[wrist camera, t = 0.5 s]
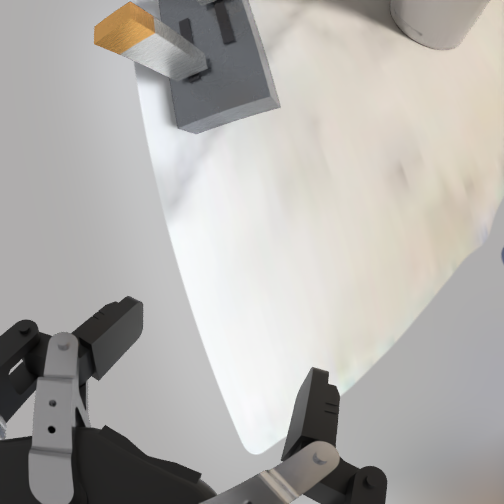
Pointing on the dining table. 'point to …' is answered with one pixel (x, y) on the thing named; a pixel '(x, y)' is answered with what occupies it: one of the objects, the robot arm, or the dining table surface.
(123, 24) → the knob orange
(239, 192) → the dining table surface
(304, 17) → the dining table surface
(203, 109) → the console
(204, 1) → the grey upright block
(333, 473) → the robot arm
